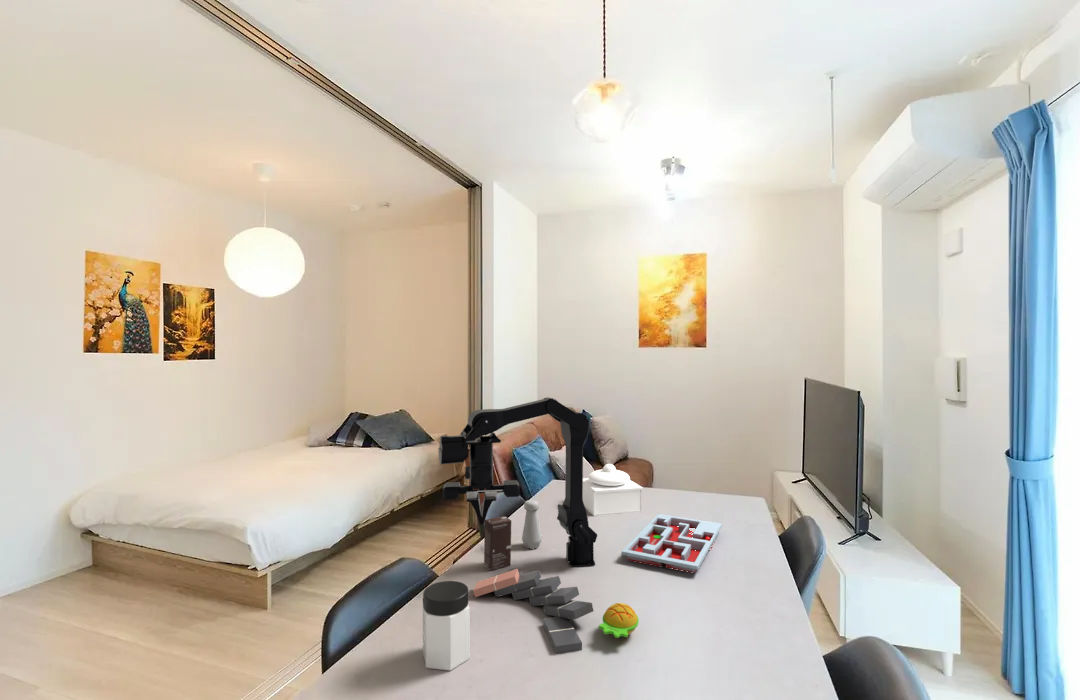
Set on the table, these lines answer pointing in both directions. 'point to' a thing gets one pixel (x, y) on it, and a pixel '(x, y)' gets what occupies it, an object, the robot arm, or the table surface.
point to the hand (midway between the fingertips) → (481, 524)
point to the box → (497, 543)
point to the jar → (446, 625)
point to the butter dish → (611, 492)
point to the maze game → (673, 542)
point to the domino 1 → (496, 583)
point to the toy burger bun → (619, 620)
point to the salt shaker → (531, 525)
